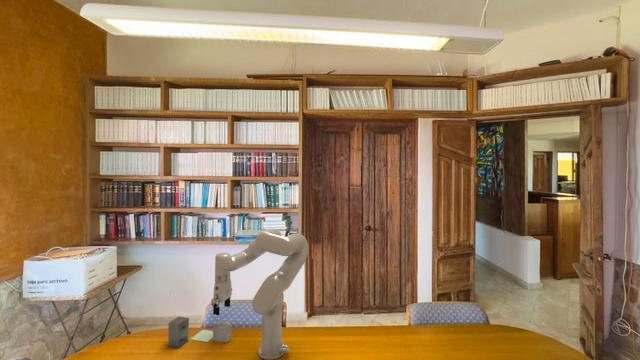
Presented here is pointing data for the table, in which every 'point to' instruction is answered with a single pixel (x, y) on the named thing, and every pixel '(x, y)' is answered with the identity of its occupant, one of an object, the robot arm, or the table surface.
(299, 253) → the robot arm
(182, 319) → the block
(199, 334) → the pad
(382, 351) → the table surface
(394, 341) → the table surface
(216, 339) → the medicine box
